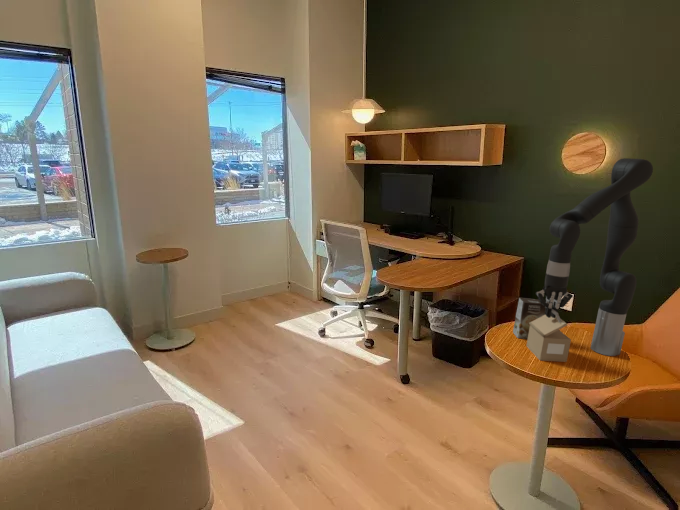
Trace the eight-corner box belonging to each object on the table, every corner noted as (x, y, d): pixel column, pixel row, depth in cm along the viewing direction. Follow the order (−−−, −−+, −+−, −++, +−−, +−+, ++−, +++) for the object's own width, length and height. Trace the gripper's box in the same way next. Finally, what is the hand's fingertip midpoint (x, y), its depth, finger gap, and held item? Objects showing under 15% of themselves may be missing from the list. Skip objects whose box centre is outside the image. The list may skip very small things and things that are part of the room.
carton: (551, 347, 167) (555, 326, 165) (566, 362, 155) (571, 339, 153) (526, 346, 167) (530, 325, 165) (539, 360, 155) (544, 338, 153)
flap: (551, 313, 163) (546, 302, 162) (567, 325, 152) (561, 313, 151) (529, 324, 165) (523, 313, 164) (543, 337, 153) (537, 325, 152)
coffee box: (517, 338, 174) (523, 302, 170) (512, 332, 180) (518, 297, 176) (539, 340, 173) (546, 304, 169) (534, 334, 179) (540, 299, 175)
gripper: (570, 271, 157) (563, 314, 161) (534, 269, 157) (528, 312, 161) (581, 276, 150) (573, 321, 154) (543, 275, 150) (536, 320, 154)
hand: (550, 316), depth 157 cm, fingers closed
